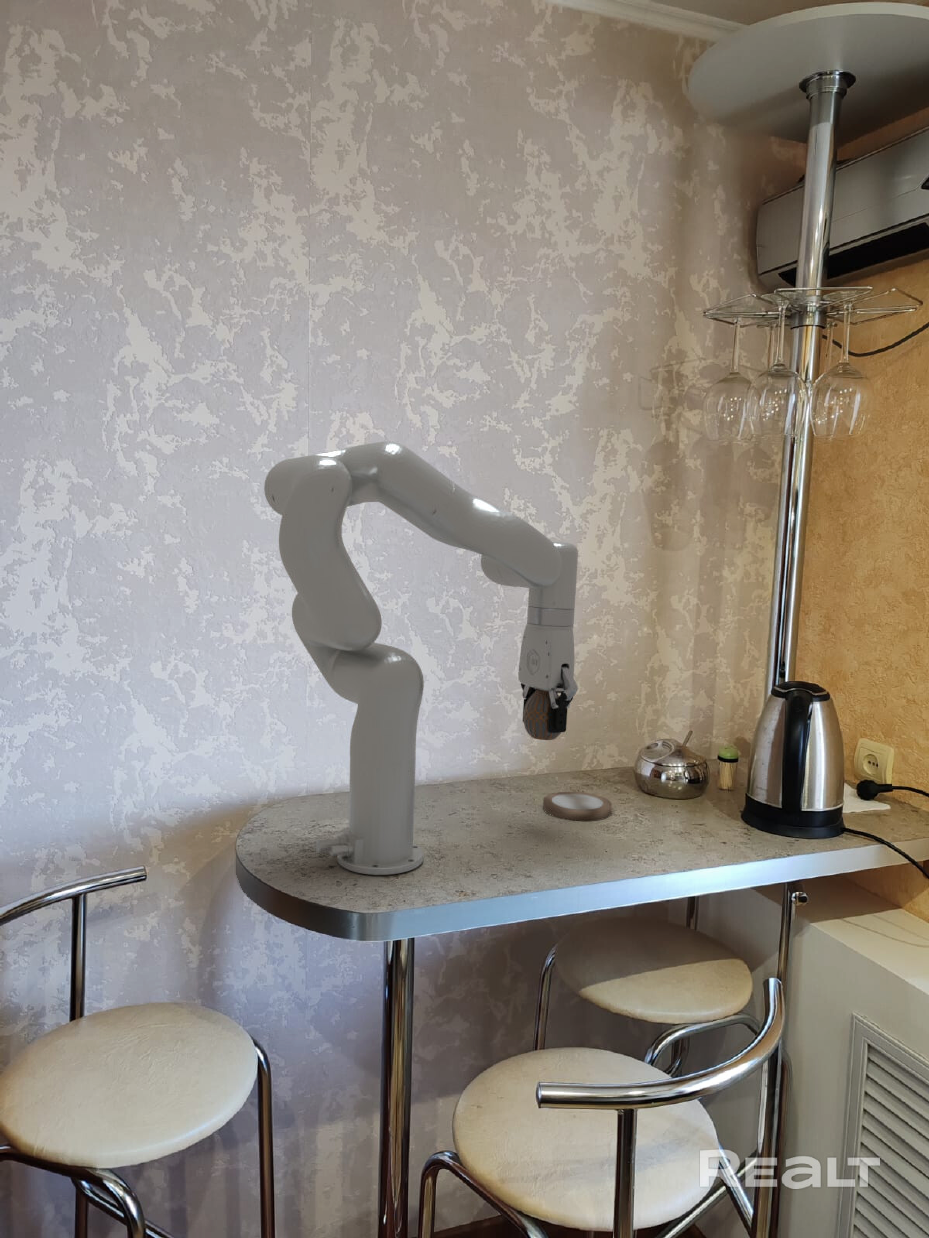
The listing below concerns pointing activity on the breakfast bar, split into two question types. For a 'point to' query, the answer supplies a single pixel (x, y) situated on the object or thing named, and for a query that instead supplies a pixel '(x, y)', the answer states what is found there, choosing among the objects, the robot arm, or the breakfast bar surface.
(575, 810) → the stand
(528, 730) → the vase
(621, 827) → the breakfast bar surface
